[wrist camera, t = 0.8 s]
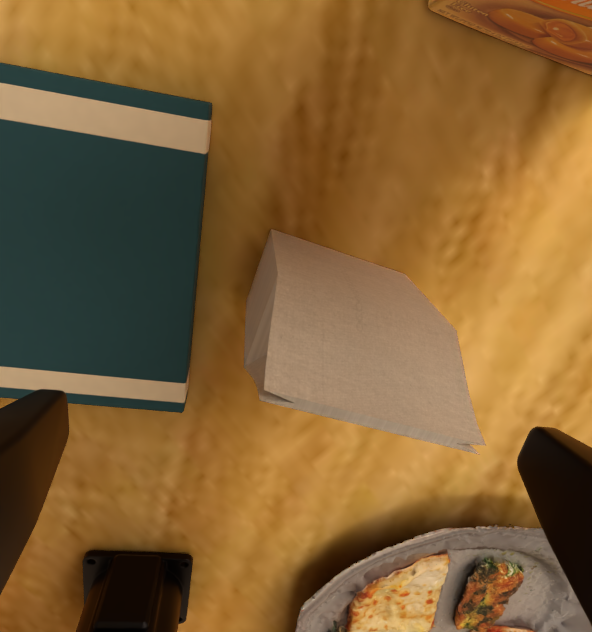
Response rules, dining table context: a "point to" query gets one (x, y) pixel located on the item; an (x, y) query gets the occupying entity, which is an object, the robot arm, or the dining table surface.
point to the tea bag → (355, 345)
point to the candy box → (530, 25)
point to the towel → (98, 238)
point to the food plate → (451, 587)
